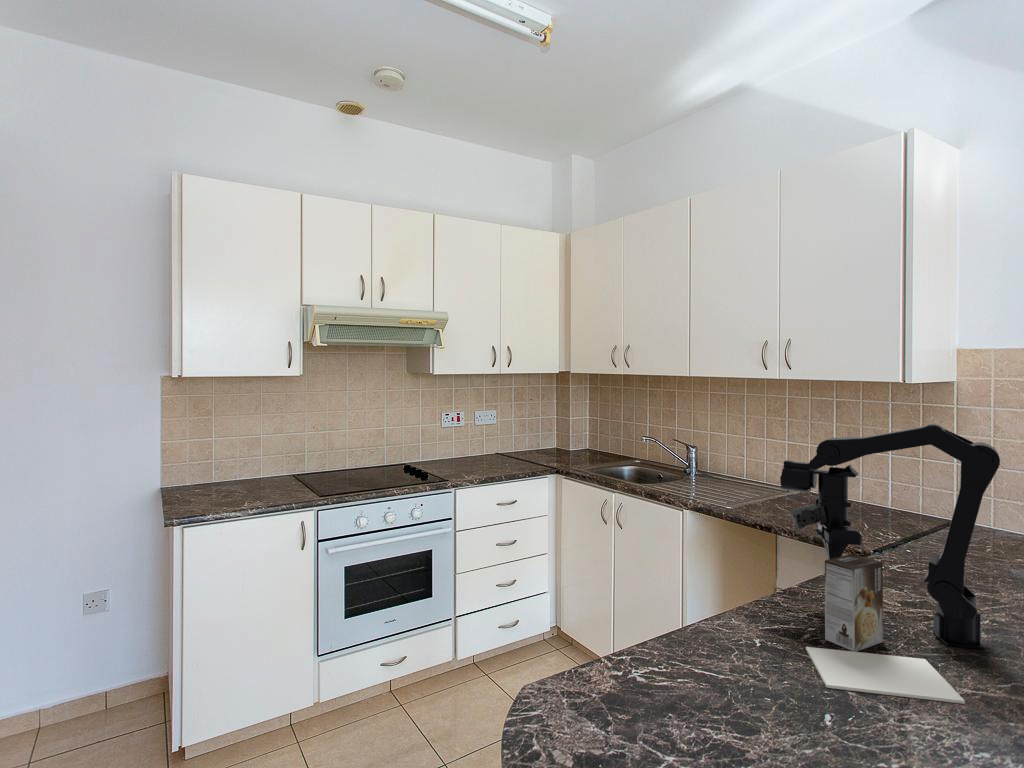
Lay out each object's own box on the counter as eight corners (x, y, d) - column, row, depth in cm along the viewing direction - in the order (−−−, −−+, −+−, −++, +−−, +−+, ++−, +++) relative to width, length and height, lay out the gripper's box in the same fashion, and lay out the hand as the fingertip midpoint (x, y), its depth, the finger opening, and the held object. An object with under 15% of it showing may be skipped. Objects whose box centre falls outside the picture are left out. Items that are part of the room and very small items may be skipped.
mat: (925, 661, 106) (925, 659, 106) (964, 703, 92) (964, 700, 92) (805, 649, 110) (805, 646, 110) (826, 687, 97) (826, 684, 97)
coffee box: (851, 630, 119) (852, 552, 119) (883, 642, 113) (884, 561, 113) (823, 639, 114) (823, 559, 114) (855, 653, 109) (855, 568, 109)
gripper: (784, 485, 138) (784, 550, 138) (803, 502, 120) (803, 576, 120) (835, 487, 135) (835, 553, 136) (863, 505, 117) (862, 581, 118)
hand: (832, 565), depth 127 cm, fingers closed
